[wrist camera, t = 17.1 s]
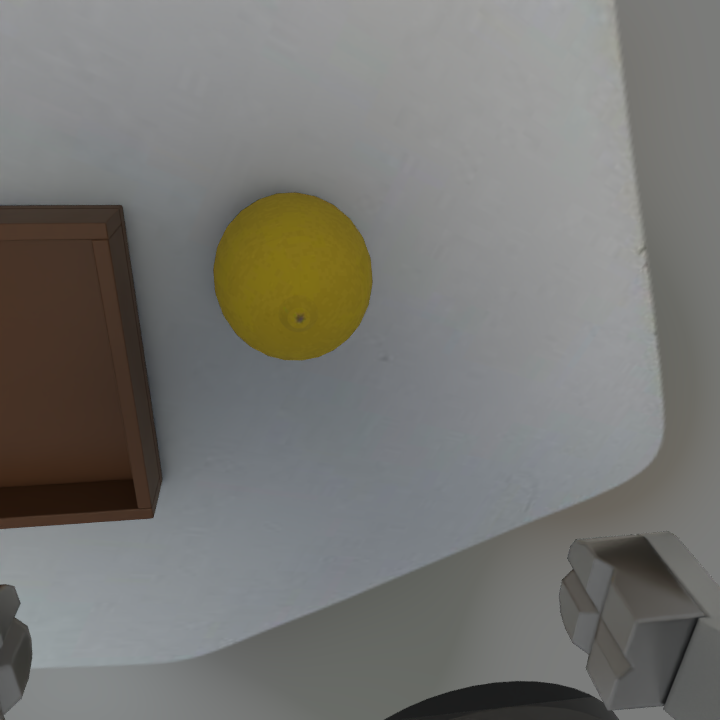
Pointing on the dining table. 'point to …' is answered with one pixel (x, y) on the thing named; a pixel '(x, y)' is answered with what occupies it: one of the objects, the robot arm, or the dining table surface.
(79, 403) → the tray
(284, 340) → the lemon
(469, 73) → the dining table surface
